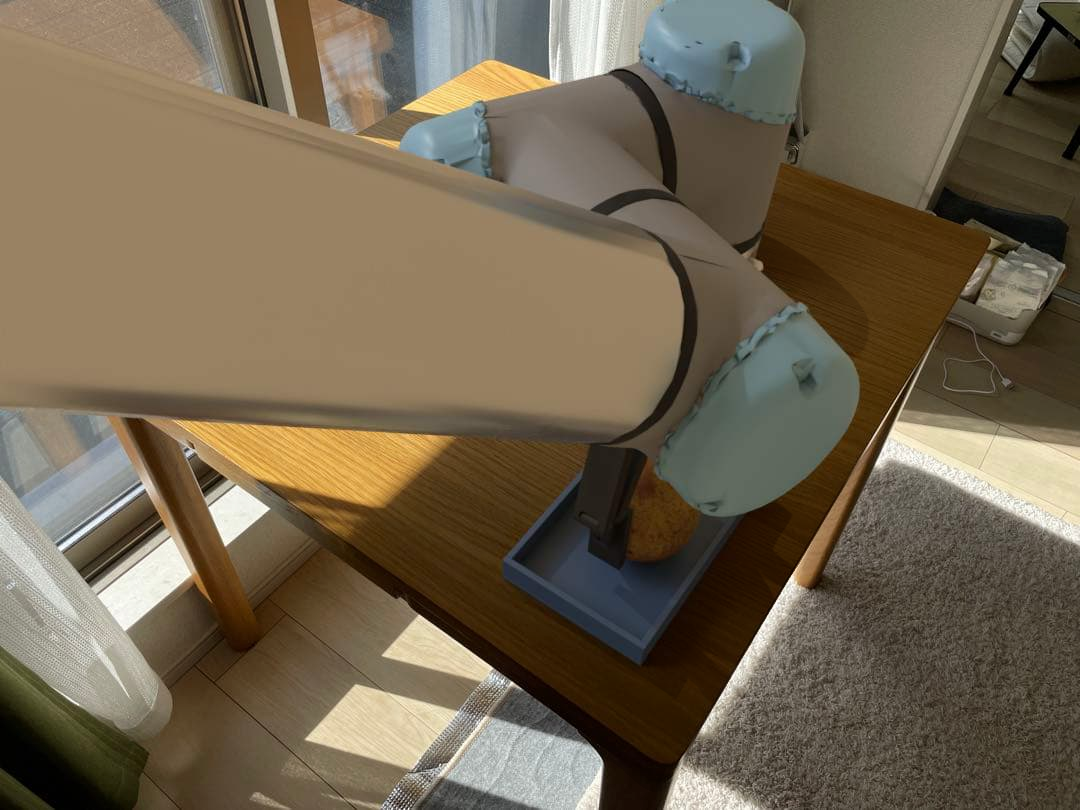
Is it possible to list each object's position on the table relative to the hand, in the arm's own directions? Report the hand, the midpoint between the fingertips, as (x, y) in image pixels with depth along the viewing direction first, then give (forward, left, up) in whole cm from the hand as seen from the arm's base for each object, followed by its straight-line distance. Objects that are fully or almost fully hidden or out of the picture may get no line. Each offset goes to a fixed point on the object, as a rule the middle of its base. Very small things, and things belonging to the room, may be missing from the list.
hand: (640, 513), depth 68 cm
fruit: (0, 0, -2) cm, 2 cm away
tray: (0, 0, -2) cm, 2 cm away
